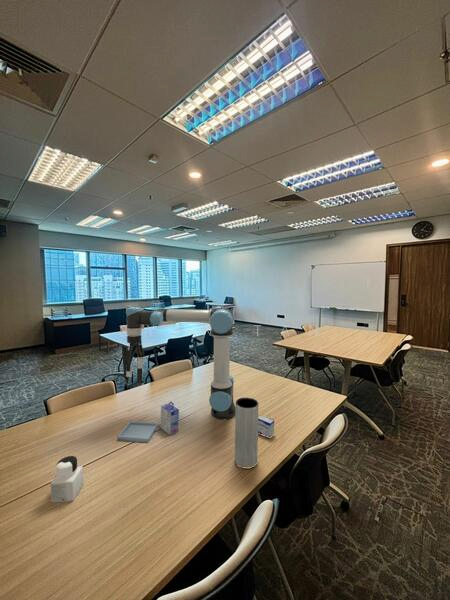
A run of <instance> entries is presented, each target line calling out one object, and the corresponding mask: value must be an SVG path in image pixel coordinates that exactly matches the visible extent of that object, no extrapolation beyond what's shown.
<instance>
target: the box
mask: <svg viewBox="0 0 450 600" xmlns="http://www.w3.org/2000/svg"><path fill="white" fill-rule="evenodd" d="M258 433H260V434H263V435H265V436H268V437H271V436H272V435H273V434H274V435H275V419H272V418H271V417H267V416H265V415H260V416H258ZM260 434H259V435H260Z"/></svg>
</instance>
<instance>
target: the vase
mask: <svg viewBox="0 0 450 600" xmlns="http://www.w3.org/2000/svg"><path fill="white" fill-rule="evenodd" d="M234 405H235V416H234V417H235V418H234V419H235V421H234V463H235V462H236V463H237V465H239V466H241V467H252V466H254V465H255V464H256V463H257V464H258V447H259V446H258V444H259V434H258V418H259V402H258V400H256V399H255V398H252V397H240V398H238V399H237V400H235V403H234ZM236 463H235V464H236ZM237 465H236V466H237Z"/></svg>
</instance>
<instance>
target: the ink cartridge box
mask: <svg viewBox="0 0 450 600" xmlns="http://www.w3.org/2000/svg"><path fill="white" fill-rule="evenodd" d="M174 405H175V403H174V402H172V401H169V402H168V403H165V404H163V405H161V406H160V428H161V429H162V430H163V431H165V433H167V434H168V435H169V436H170V435H174V434H176V433H178V432H179V427H180V426H179V425H180V423H179V417H180V416H179V415H180V413H179V412H180V411H179V410H180V409H179V408H177V407H176V406H174Z"/></svg>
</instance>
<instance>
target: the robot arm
mask: <svg viewBox="0 0 450 600" xmlns="http://www.w3.org/2000/svg"><path fill="white" fill-rule="evenodd" d="M234 320H235V316H234V313H233V312H232V310H231V309H229V308H228V307H217V308H213V307H211V308H209V309H183V308H182V309H177V308H175V309H173V308H169V309H168V308H161V307H160V308H157V309H154V310H152V311H151V310H150V311H145V310H142V307H137V306H131V307H127V308H126V335H127V336H126V342H127V343H128V344H129V345H128V346H126V351H125V356H124V362H123V366H125V372H126V374H125V376H126V377H127V378H132V377H133V369H132V368H133V365H132V362H133V358H134V355H135V354H136V357H137V359H136V361H137V363H136V364H137V369H143V358H144V357H145V351H144V348H143V343H142V326H161V325H162V323H163V322H164V323H165V322H167V323H169V322H170V323H200V324H201V323H204V324H205V323H206V324H209V325H210V334H211V336H212V337H213V380H212V381H211V382H210V396H209V405H210V407H211V409H210V415H211V416H212V417H213V418H214V419H217V420H224V419H226V420H230V418H231V419H233V418H234V417H235V402H234V382H235V380H234V376H232V375H230V362H231V361H230V360H231V359H230V351H231V337H232V336H233V335H234V334H233V333H234V332H233V330H234V328H233V327H234ZM232 417H233V418H232ZM224 421H225V420H224Z"/></svg>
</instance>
